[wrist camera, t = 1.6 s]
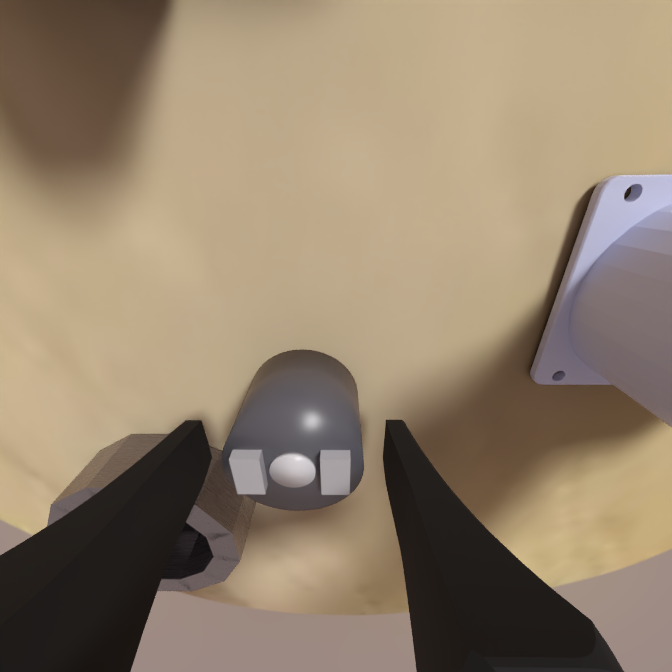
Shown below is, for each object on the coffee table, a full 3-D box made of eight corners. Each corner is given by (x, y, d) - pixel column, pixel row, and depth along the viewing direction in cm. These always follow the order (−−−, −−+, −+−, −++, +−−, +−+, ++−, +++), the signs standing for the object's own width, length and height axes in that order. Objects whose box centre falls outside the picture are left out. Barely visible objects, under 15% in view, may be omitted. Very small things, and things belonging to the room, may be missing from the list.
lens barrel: (240, 434, 15) (218, 488, 12) (262, 535, 19) (249, 592, 16) (68, 434, 15) (10, 486, 13) (127, 534, 19) (93, 589, 17)
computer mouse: (359, 349, 13) (368, 423, 9) (356, 433, 15) (361, 521, 11) (244, 349, 13) (203, 423, 9) (259, 433, 15) (231, 520, 11)
